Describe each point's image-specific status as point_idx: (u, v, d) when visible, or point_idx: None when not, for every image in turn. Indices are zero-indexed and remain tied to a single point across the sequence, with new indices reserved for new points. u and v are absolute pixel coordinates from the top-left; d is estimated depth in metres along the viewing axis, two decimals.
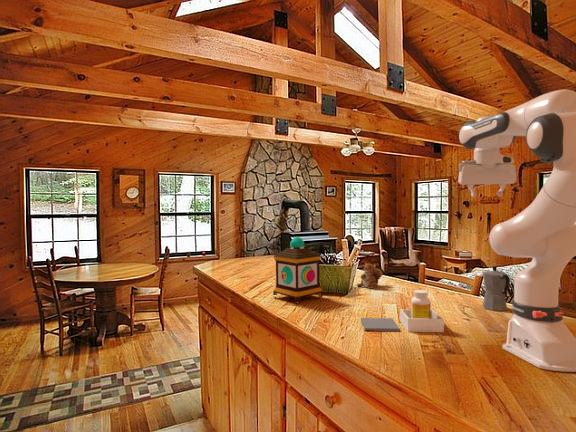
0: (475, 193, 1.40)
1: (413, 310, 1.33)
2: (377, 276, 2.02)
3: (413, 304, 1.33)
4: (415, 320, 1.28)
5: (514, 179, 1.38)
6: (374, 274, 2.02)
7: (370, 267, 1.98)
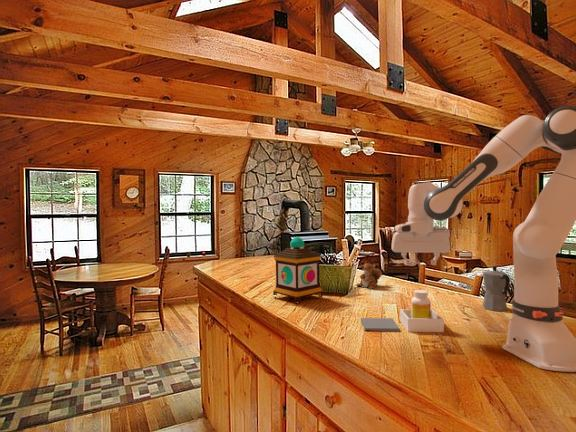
0: None
1: (413, 310, 1.33)
2: (376, 276, 2.02)
3: (413, 304, 1.33)
4: (415, 320, 1.28)
5: None
6: (373, 274, 2.02)
7: (369, 267, 1.98)
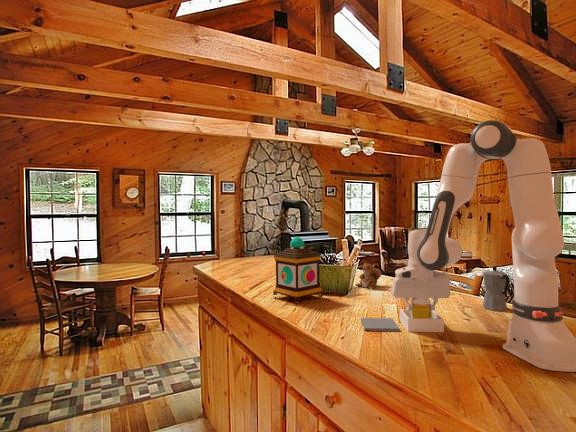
0: None
1: (413, 310, 1.33)
2: (376, 276, 2.02)
3: (413, 304, 1.33)
4: (415, 320, 1.28)
5: None
6: (373, 274, 2.02)
7: (369, 267, 1.98)
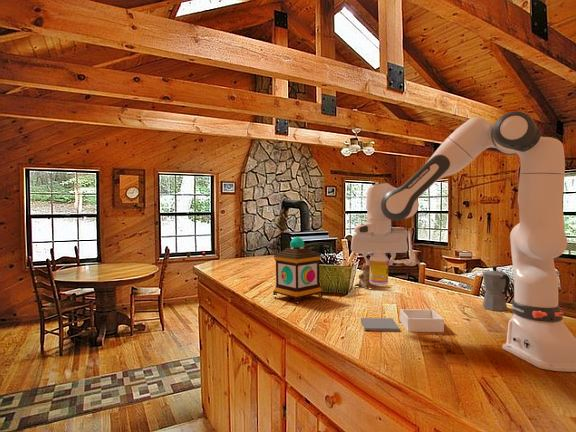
0: None
1: (371, 267, 1.33)
2: None
3: (371, 261, 1.33)
4: (415, 320, 1.28)
5: None
6: None
7: (368, 267, 1.98)
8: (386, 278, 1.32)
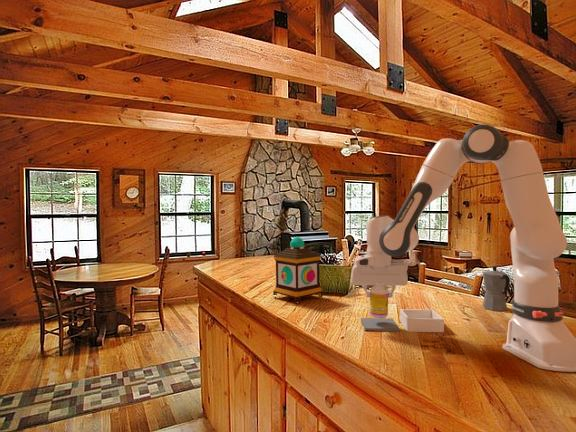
0: None
1: (371, 299, 1.34)
2: None
3: (371, 294, 1.34)
4: (415, 320, 1.28)
5: None
6: None
7: None
8: (386, 311, 1.33)
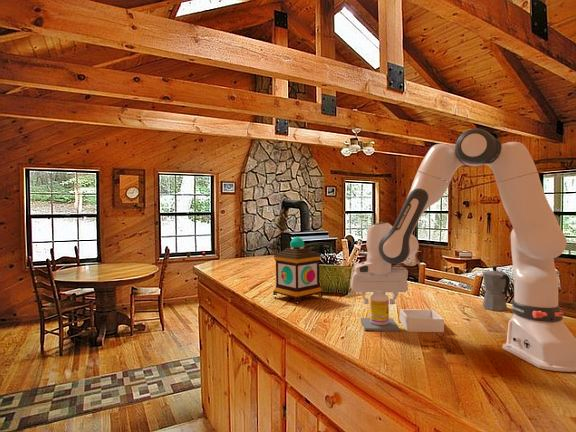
0: None
1: (371, 307, 1.34)
2: None
3: (371, 301, 1.34)
4: (415, 320, 1.28)
5: None
6: None
7: None
8: (387, 318, 1.33)
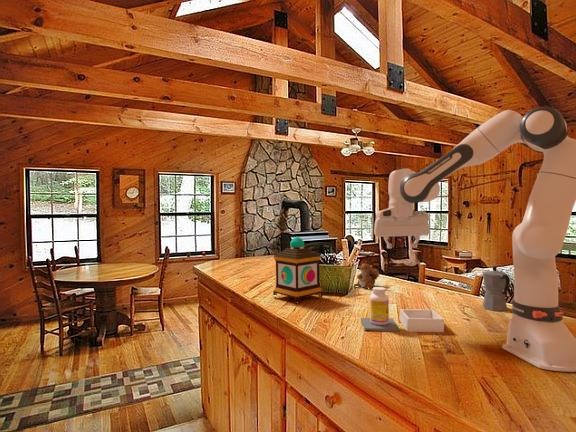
0: None
1: (371, 307, 1.34)
2: (374, 276, 2.01)
3: (371, 301, 1.34)
4: (415, 320, 1.28)
5: None
6: (371, 274, 2.01)
7: (367, 267, 1.98)
8: (387, 318, 1.33)
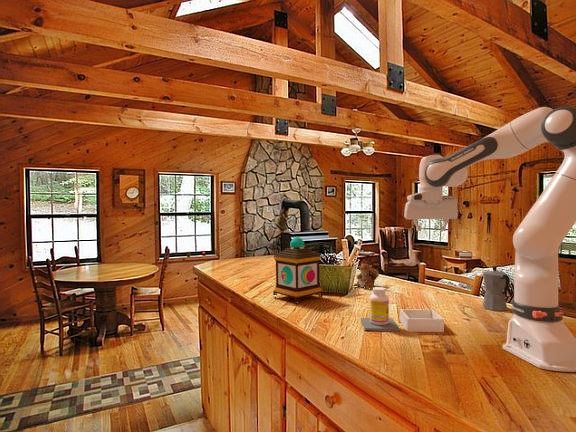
0: None
1: (371, 307, 1.34)
2: (373, 276, 2.01)
3: (371, 301, 1.34)
4: (415, 320, 1.28)
5: None
6: (370, 274, 2.01)
7: (366, 267, 1.98)
8: (387, 318, 1.33)
